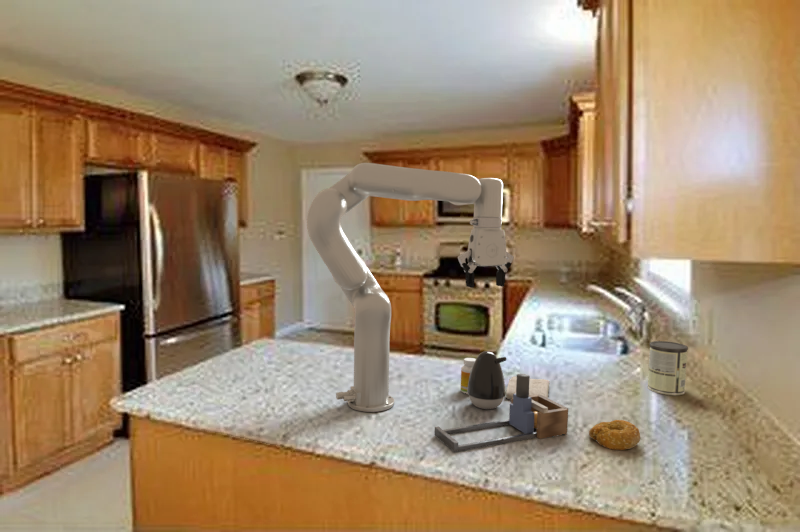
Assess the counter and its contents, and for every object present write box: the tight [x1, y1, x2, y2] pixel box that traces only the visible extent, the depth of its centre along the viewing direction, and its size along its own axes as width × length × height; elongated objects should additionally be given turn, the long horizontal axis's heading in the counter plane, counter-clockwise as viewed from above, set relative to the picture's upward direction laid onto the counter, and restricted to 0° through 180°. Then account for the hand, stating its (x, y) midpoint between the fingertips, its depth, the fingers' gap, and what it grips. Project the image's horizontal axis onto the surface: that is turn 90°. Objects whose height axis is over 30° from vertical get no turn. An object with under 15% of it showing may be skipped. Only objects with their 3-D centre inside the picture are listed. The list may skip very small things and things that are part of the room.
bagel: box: [588, 419, 641, 451], centre depth 117 cm, size 10×11×5 cm
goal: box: [510, 393, 569, 440], centre depth 124 cm, size 9×11×7 cm
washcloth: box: [505, 375, 551, 400], centre depth 151 cm, size 12×18×3 cm, turn 163°
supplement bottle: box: [460, 357, 476, 395], centre depth 150 cm, size 5×5×10 cm
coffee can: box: [647, 340, 689, 396], centre depth 155 cm, size 10×10×14 cm
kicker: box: [508, 373, 535, 434], centre depth 122 cm, size 3×7×13 cm, turn 23°
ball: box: [534, 411, 537, 430], centre depth 124 cm, size 4×4×4 cm
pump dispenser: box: [467, 350, 507, 410], centre depth 138 cm, size 10×10×15 cm
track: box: [434, 418, 537, 453], centre depth 119 cm, size 22×9×2 cm, turn 113°
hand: (485, 286), depth 140 cm, fingers open, 9 cm apart
